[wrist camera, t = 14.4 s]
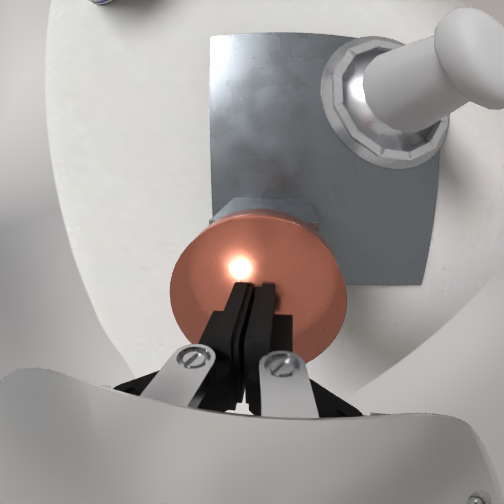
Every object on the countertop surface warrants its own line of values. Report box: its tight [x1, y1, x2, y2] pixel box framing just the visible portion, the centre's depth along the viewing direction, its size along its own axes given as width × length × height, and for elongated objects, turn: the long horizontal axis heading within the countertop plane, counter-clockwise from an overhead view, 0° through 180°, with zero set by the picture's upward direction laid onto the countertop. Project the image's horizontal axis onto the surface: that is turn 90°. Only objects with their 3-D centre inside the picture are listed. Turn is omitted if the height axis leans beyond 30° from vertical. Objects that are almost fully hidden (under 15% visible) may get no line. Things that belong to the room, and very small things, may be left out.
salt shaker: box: [362, 7, 504, 133], centre depth 10 cm, size 6×6×13 cm
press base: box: [209, 32, 449, 285], centre depth 16 cm, size 20×19×8 cm
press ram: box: [170, 209, 347, 364], centre depth 15 cm, size 8×8×8 cm
